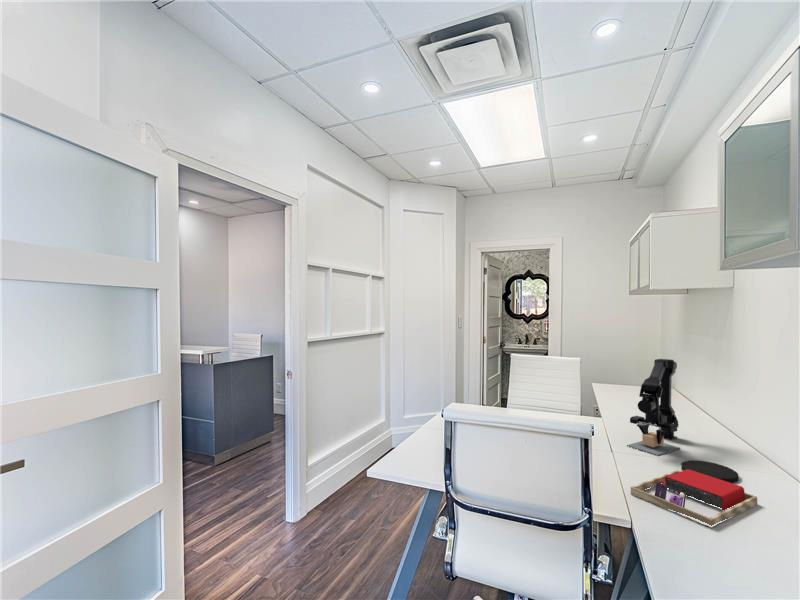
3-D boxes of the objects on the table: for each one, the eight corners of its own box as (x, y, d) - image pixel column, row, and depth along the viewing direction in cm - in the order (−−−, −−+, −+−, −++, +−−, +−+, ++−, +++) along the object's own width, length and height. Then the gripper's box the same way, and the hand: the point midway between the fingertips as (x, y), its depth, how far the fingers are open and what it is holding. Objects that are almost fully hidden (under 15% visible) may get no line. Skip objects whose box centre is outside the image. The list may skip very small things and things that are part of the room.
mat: (649, 440, 193) (649, 438, 193) (680, 448, 180) (680, 447, 180) (627, 446, 185) (626, 445, 185) (657, 456, 172) (657, 454, 172)
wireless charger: (742, 474, 153) (741, 469, 153) (734, 488, 141) (733, 483, 141) (687, 461, 167) (687, 457, 167) (676, 473, 155) (675, 468, 155)
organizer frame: (677, 476, 151) (677, 470, 151) (757, 504, 129) (757, 496, 130) (630, 494, 138) (630, 487, 138) (711, 528, 116) (711, 520, 116)
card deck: (642, 444, 183) (642, 434, 183) (652, 441, 187) (652, 431, 187) (653, 447, 179) (653, 437, 179) (663, 444, 182) (663, 434, 182)
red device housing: (665, 490, 141) (664, 476, 141) (686, 481, 148) (686, 468, 148) (723, 512, 125) (723, 497, 125) (744, 502, 132) (744, 487, 132)
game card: (655, 482, 133) (684, 493, 125) (663, 484, 135) (692, 494, 127) (652, 502, 131) (681, 514, 123) (660, 503, 134) (689, 516, 126)
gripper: (683, 411, 178) (684, 445, 178) (642, 402, 195) (643, 433, 195) (669, 414, 173) (670, 449, 173) (628, 405, 190) (629, 437, 190)
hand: (653, 442), depth 183 cm, fingers closed on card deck, 5 cm apart
